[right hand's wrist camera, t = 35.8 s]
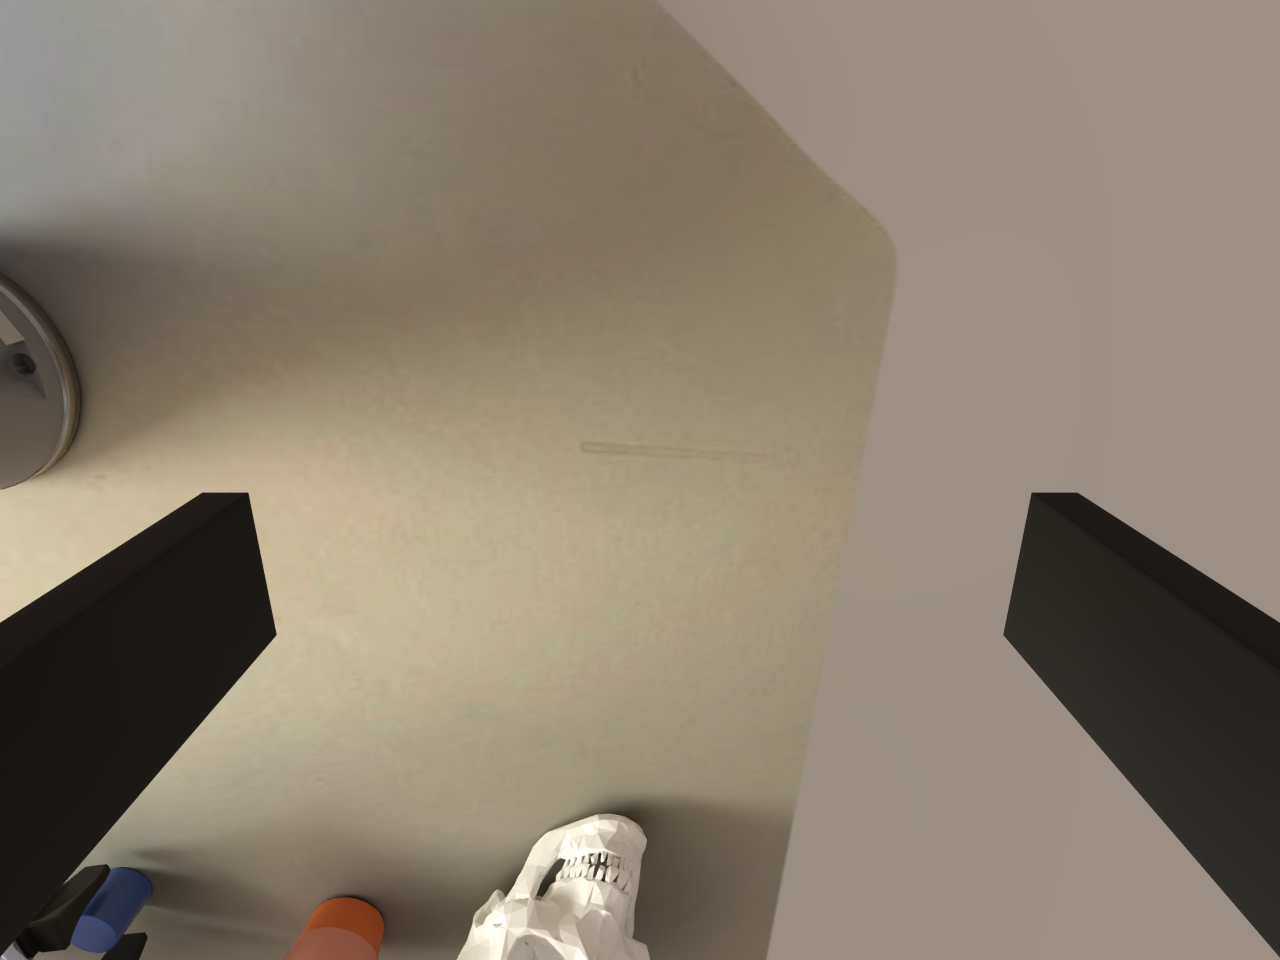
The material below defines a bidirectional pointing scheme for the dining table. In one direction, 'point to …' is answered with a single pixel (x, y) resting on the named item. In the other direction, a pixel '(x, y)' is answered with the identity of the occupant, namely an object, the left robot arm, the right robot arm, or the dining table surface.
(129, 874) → the canister
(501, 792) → the dining table surface
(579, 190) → the dining table surface
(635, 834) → the skull
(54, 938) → the left robot arm
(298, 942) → the cup with straw
